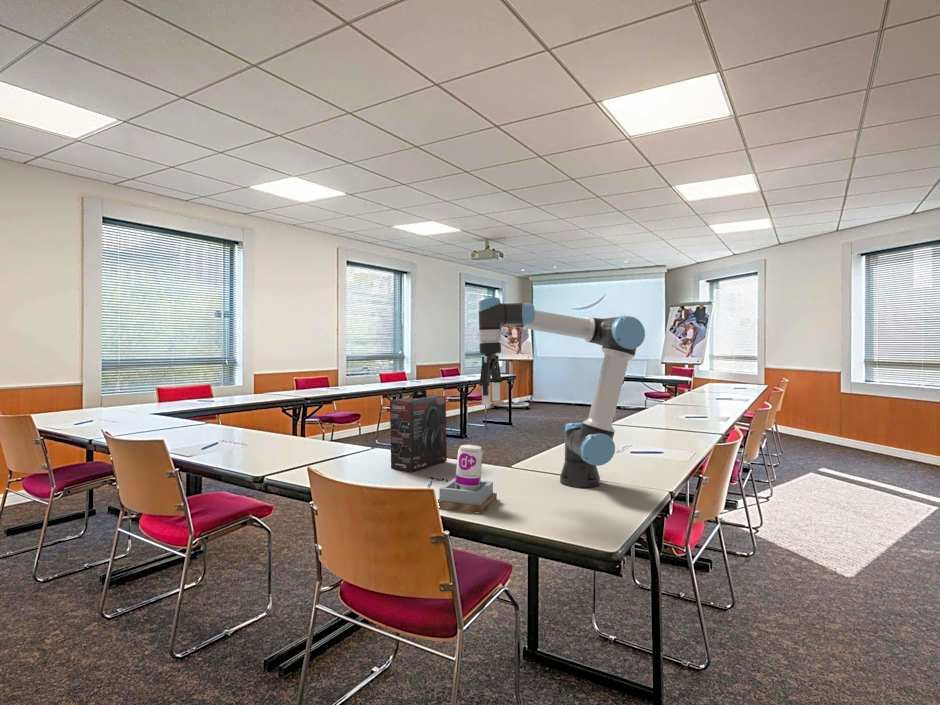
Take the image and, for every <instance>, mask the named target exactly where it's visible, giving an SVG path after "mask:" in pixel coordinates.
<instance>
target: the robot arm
mask: <svg viewBox="0 0 940 705" xmlns="http://www.w3.org/2000/svg"><path fill="white" fill-rule="evenodd" d="M477 312H478V329H479V330H478V333H477V335H478V337H479V338H478V339H479V342H481V343H479V353H480V354H481V355H483V354H484V356H481V370H480V378H479V382H478V386H479V387H481V405H482V406H492V404H491V401H492V402H493V401H494V402H499V401H501V383H502V382H503V379H502V376H501V374H502V373H501V369H500V361H499V358H500V357H499V355H496V354H501V353H502V344H501V342H500V341H502V332H501V325H503V326H505V327H513V328H520V329H525V330H526V329H527V330H532V331H537V332H543V333H548V334H553V335H554V334H556V335H561V336H566V337H571V338H578V339H583V340H585V342H586V343H591V344H595V345H598V346H602V348H601V350H602V352H603V355H604V356H603V359H602V360H603V361H602V364H601V368H600V371H599V376H598V379H597V383H596V386H595V391H594V393H593V394H594V395H593V398H592V402H591V405H590V410H589V414H588V417H587V419H585V420H584V421H582V422H572V423H571V422H569V423H566V424H565V425H564V427H565V428H564V463H563V466H562V469H561V471H560V474H559V482H560V484H562V485H565V486H568V487H573V488H574V487H575V488H594V487H598V486H600V484H601V477H600V472H599V471H598V467H597V466H603V465H606V464H608V463H609V462H610V461H611V460H612V459H613V458H614V455H615V453H616V445H615V442H614V440H613V439H614V435H615V429H614V427H613V422H614V417H615V414H616V410H617V406H618V404H619V403H618V402H619V398H620V395H621V392H622V388H623V384H624V380H625V375H626V373H627V369H628V364H629V361H630V360H632V359H633V358H635V357H636V356H635V355H636V351H637V348H639V347H640V346H641V345H642V344H643V342H644V340H645V337H646V330H645V329H646V328H645V327H644V325H643V323H642V322H641V321H640V320H639V318H636V317H635V316H630V315H621V316H615V317H607V318H598V317H589V318H588V319H587V318H582V317H575V316H570V315H564V314H558V313H553V312H549V311H548V312H547V311H542V310H537V309H536V310H535V306H534V304H533V303H529V302H518V303H517V302H513V303H502V302H501V300H500V298H499V297H493V296H492V297H482V298H480V299H479V300H478V311H477ZM491 378H492V379H491ZM491 380H492V383H491V385H490V381H491ZM491 395H492V396H491ZM491 397H492V398H491Z"/></svg>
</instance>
